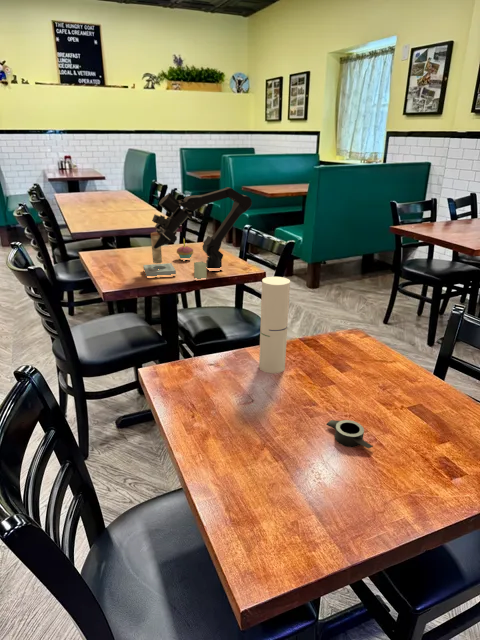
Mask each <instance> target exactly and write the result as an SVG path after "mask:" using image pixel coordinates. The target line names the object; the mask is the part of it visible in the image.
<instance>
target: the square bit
mask: <svg viewBox="0 0 480 640" xmlns="http://www.w3.org/2000/svg"><path fill="white" fill-rule="evenodd" d="M207 271H208V270H207V269H206V262H204V261H195V262H193V276H194V277H195V278H197V279H201V278H207Z"/></svg>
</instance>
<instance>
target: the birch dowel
mask: <svg viewBox="0 0 480 640" xmlns="http://www.w3.org/2000/svg"><path fill="white" fill-rule="evenodd" d="M159 237H160V233H158V232H156V231H155V232H150V241H151V252H152V253H151V255H152V263H153V264H163V258H162V257H163V256H162V246H160V247H158V248H156V249H155V248H154V245H155V244H156V242H157V241H158V239H159Z"/></svg>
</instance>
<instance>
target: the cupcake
mask: <svg viewBox="0 0 480 640" xmlns="http://www.w3.org/2000/svg"><path fill="white" fill-rule="evenodd" d="M182 240H183V246H179V247H178V248H177V249H176V254H178V256H179V259H180V258H190V257H191V258H192V256H193V254H194V249H193V248H192V247H190V246H188V245H186V243H185V242H186V239H185V238H183V239H182Z"/></svg>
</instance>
